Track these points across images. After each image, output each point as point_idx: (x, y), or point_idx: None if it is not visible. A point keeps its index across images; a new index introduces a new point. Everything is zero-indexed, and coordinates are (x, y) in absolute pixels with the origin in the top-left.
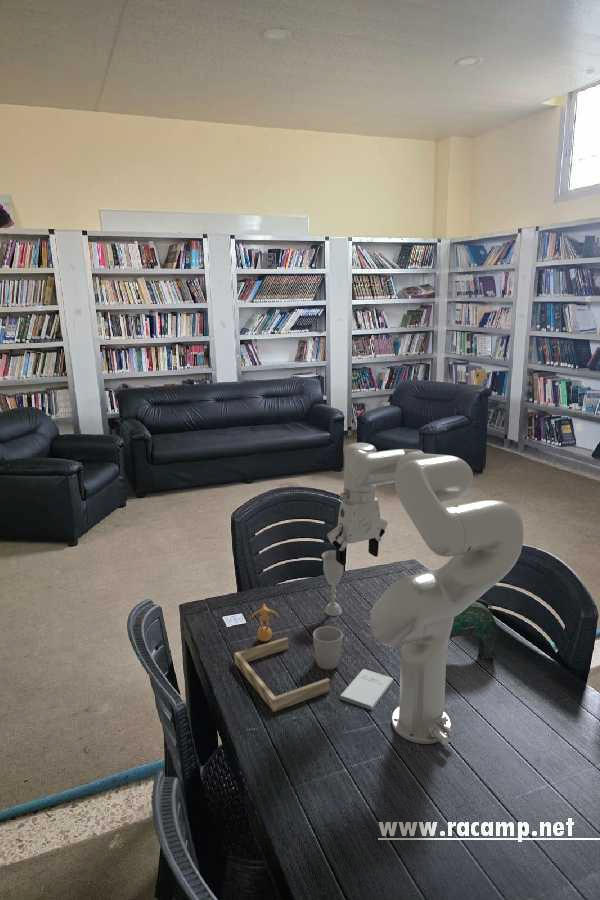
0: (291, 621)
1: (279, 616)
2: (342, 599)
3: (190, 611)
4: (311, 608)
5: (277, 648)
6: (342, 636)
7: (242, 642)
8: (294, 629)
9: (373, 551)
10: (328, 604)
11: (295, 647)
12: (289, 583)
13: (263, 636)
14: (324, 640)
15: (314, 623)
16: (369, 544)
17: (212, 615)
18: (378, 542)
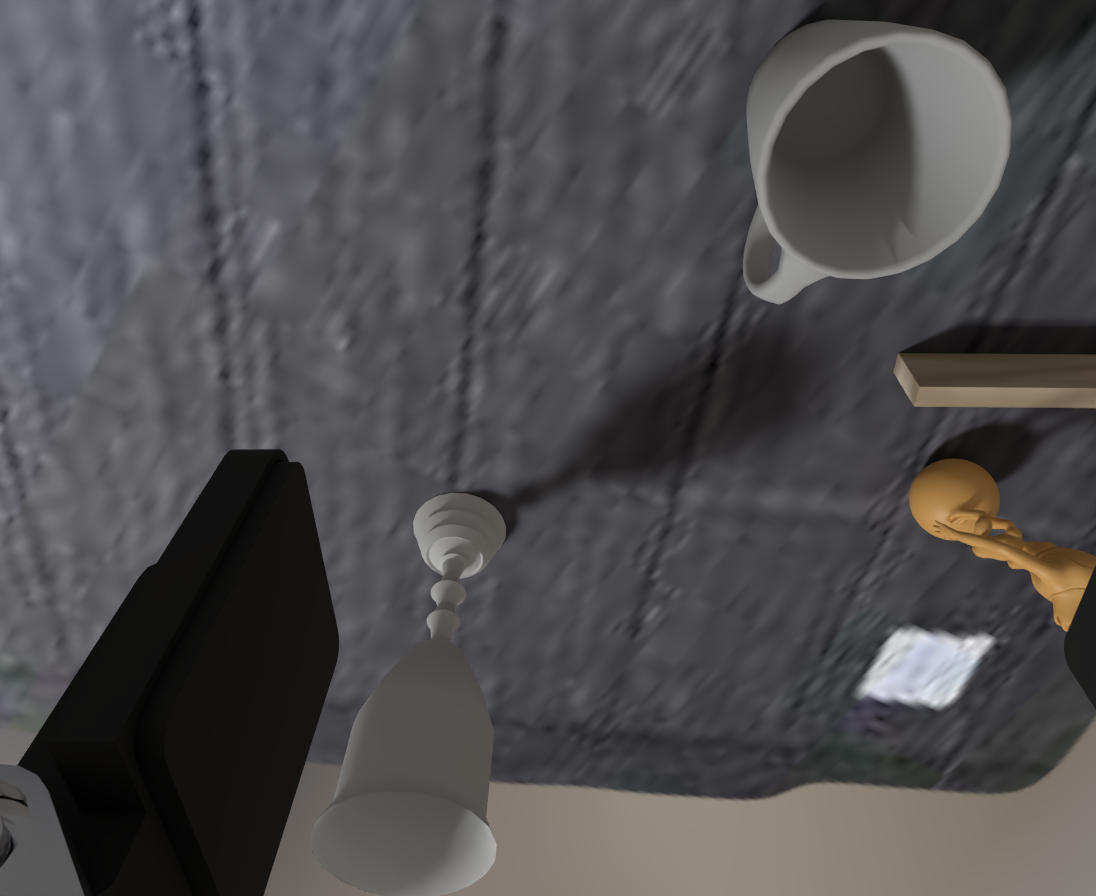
0: (707, 549)
1: (948, 528)
2: (354, 593)
3: (1025, 781)
4: (546, 596)
5: (979, 366)
6: (805, 73)
7: (1038, 509)
8: (742, 487)
9: (284, 579)
10: (479, 569)
11: (855, 347)
12: (518, 781)
13: (989, 477)
14: (816, 215)
15: (615, 486)
16: (281, 792)
17: (975, 728)
18: (34, 752)
